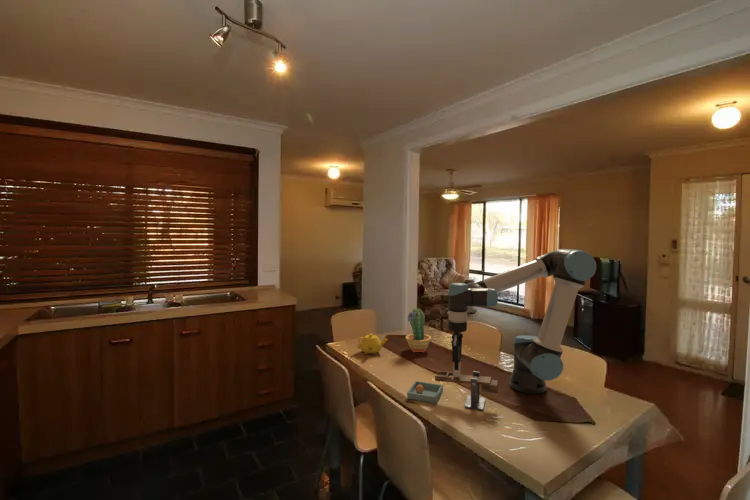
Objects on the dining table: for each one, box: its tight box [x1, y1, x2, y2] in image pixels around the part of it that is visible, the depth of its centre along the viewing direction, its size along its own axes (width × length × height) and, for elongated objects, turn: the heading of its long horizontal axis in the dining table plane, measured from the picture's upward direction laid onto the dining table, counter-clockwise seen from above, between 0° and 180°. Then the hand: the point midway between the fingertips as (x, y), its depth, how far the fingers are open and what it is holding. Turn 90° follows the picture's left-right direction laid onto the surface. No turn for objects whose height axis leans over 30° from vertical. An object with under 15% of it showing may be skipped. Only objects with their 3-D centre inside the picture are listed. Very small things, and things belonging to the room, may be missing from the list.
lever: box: [434, 370, 499, 394], centre depth 143 cm, size 24×6×5 cm, turn 67°
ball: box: [416, 385, 424, 393], centre depth 151 cm, size 4×4×4 cm
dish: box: [406, 380, 444, 405], centre depth 150 cm, size 13×13×3 cm
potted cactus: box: [405, 308, 432, 353], centre depth 207 cm, size 15×15×25 cm
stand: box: [464, 370, 486, 412], centre depth 142 cm, size 7×10×12 cm
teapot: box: [356, 333, 389, 356], centre depth 204 cm, size 14×14×11 cm
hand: (456, 376), depth 145 cm, fingers closed
